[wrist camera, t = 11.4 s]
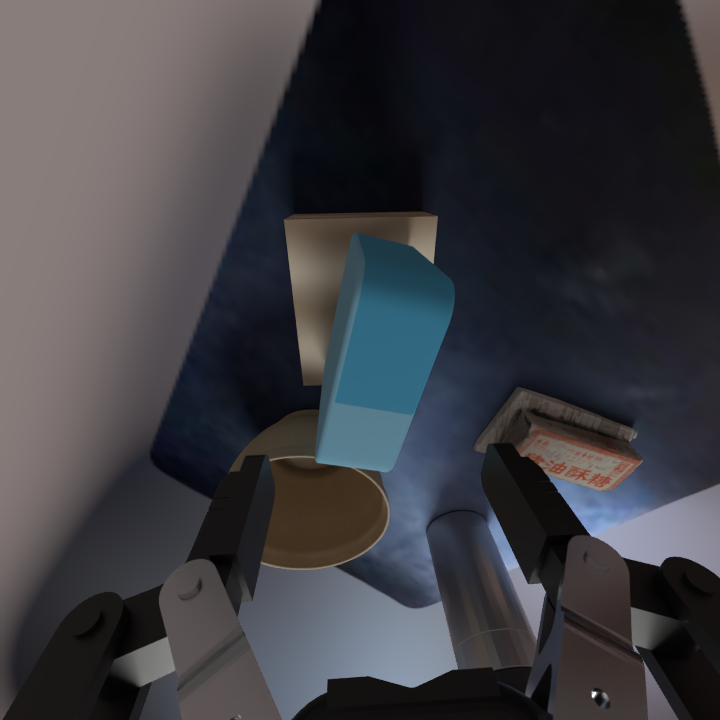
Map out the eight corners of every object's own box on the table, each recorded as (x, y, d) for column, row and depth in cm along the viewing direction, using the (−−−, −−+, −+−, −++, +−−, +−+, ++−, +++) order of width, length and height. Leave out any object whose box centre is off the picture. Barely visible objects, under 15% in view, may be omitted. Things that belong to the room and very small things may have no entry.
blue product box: (372, 378, 29) (388, 485, 19) (323, 369, 29) (311, 475, 18) (411, 243, 24) (465, 288, 14) (352, 229, 23) (360, 264, 13)
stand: (412, 356, 34) (422, 381, 30) (308, 359, 34) (303, 385, 30) (422, 211, 28) (437, 216, 23) (293, 214, 27) (284, 219, 23)
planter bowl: (272, 495, 44) (252, 582, 34) (222, 400, 36) (178, 478, 26) (389, 472, 42) (402, 556, 33) (363, 369, 35) (370, 439, 25)
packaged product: (665, 452, 37) (603, 506, 41) (631, 424, 41) (579, 476, 45) (537, 408, 33) (484, 473, 37) (515, 382, 37) (469, 444, 41)
